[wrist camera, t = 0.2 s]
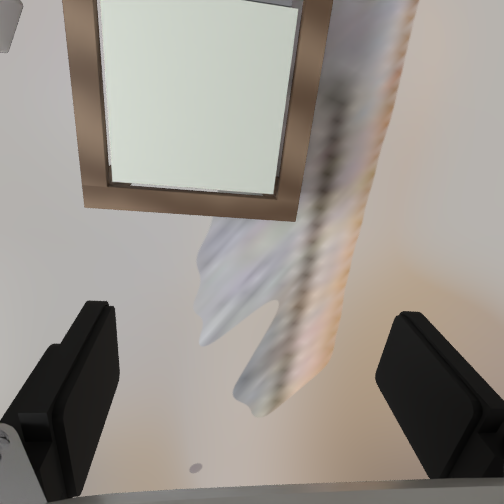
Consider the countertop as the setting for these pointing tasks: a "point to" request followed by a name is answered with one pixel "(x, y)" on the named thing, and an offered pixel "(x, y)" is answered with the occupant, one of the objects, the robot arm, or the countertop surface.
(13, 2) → the jar
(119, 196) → the trapdoor frame
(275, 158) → the trapdoor
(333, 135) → the countertop surface
